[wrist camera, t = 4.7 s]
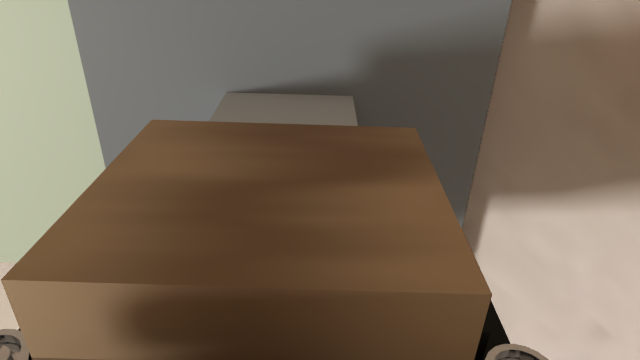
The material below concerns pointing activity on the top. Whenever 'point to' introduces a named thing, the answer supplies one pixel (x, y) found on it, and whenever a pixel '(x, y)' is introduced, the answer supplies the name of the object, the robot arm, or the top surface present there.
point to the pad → (41, 122)
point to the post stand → (298, 68)
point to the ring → (255, 252)
